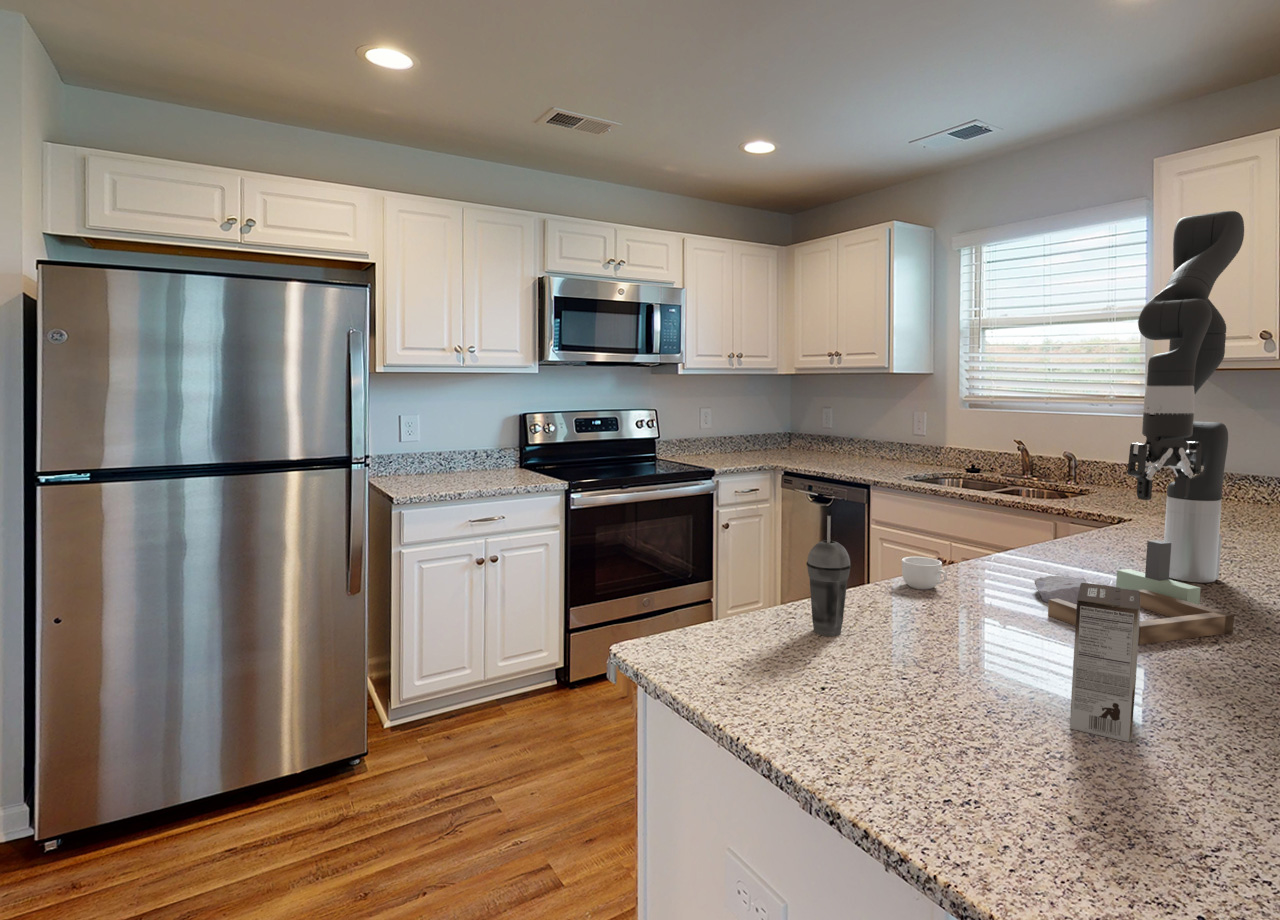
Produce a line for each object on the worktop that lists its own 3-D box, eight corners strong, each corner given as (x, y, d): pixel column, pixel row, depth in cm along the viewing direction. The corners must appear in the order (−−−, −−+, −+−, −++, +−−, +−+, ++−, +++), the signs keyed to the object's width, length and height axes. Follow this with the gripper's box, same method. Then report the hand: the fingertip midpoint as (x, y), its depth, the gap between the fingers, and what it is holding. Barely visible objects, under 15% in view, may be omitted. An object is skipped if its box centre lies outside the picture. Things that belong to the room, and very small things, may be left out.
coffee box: (1073, 702, 95) (1080, 581, 93) (1133, 714, 91) (1141, 588, 90) (1067, 729, 87) (1074, 598, 86) (1132, 743, 84) (1140, 607, 82)
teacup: (892, 584, 151) (893, 559, 151) (918, 579, 155) (919, 555, 154) (932, 596, 143) (933, 569, 142) (958, 591, 146) (959, 564, 146)
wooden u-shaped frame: (1142, 604, 136) (1143, 589, 136) (1232, 632, 121) (1234, 614, 121) (1047, 615, 130) (1048, 599, 130) (1130, 646, 115) (1131, 627, 115)
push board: (1115, 594, 143) (1119, 534, 142) (1127, 593, 144) (1131, 534, 143) (1185, 616, 130) (1190, 550, 129) (1198, 614, 131) (1203, 549, 130)
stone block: (1050, 616, 136) (1109, 609, 134) (1045, 591, 136) (1104, 583, 134) (1029, 600, 148) (1083, 593, 145) (1025, 577, 147) (1078, 569, 145)
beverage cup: (850, 627, 125) (853, 512, 123) (848, 641, 118) (851, 519, 116) (807, 622, 127) (809, 509, 125) (802, 636, 120) (804, 517, 118)
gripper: (1179, 409, 138) (1173, 494, 140) (1118, 410, 135) (1113, 497, 137) (1219, 410, 131) (1212, 499, 133) (1156, 412, 128) (1150, 503, 129)
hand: (1162, 498), depth 135 cm, fingers open, 8 cm apart
